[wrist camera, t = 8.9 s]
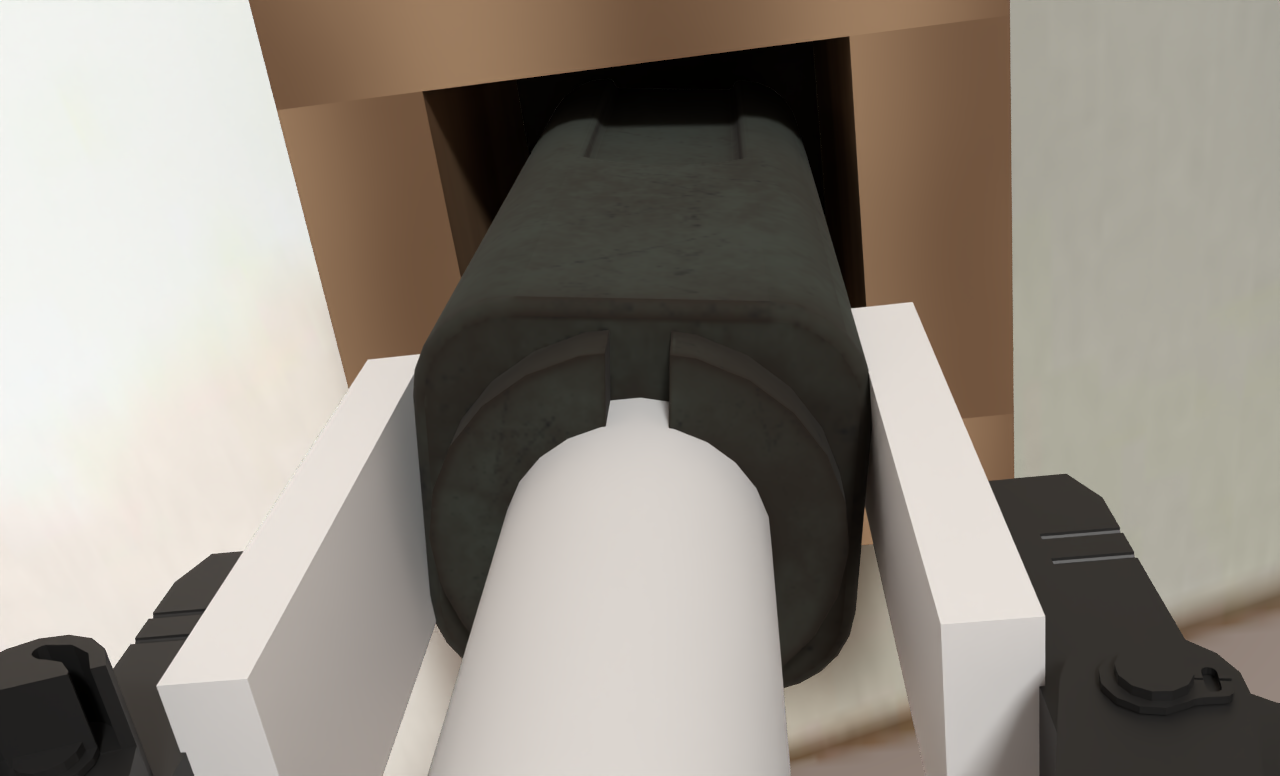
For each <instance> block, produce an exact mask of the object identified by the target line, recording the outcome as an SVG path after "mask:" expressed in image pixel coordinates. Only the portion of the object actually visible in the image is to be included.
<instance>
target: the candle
mask: <svg viewBox="0 0 1280 776" xmlns="http://www.w3.org/2000/svg"><path fill="white" fill-rule="evenodd" d="M868 371H869V369H868V366H867V362H866V359H865V355H864V352H863V348H862V345H861V342H860V338H859V335H858V331H857V328H856V324H855V321H854V318H853V314H852V311H851V305H850V302H849V298H848V295H847V291H846V288H845V285H844V281H843V278H842V274H841V271H840V268H839V264H838V261H837V257H836V254H835V250H834V247H833V244H832V240H831V237H830V233H829V230H828V226H827V223H826V220H825V216H824V213H823V209H822V206H821V203H820V199H819V196H818V192H817V189H816V185H815V182H814V179H813V175H812V172H811V168H810V165H809V161H808V158H807V155H806V151H805V148H804V144H803V141H802V138H801V134H800V131H799V127H798V124H797V121H796V119H795V116H794V113H793V111H792V109H791V108H790V106H789V105H788V103H787V102H786V101H785V99H784V98H783V97H782V96H780V95H779V94H778V93H777V92H775V91H774V90H773V89H772V88H769V87H767V86H765V85H763V84H760V83H758V82H752V81H745V80H738V81H736V82H735V83H734V86H733V87H732V88H731V89H646V88H618V87H617V86H616V85H615V83H614V81H613V80H612V79H600V80H592V81H589V82H587V83H584V84H582V85H579V86H577V87H576V88H575V89H573V90H572V91H571V92H569V93H568V94H567V95H566V96H565V97H564V98H563V99H562V101H561V102H560V103H559V105H558V106H557V108H556V109H555V111H554V113H553V114H552V116H551V118H550V120H549V122H548V123H547V125H546V127H545V129H544V131H543V132H542V134H541V136H540V138H539V140H538V141H537V143H536V145H535V147H534V149H533V150H532V152H531V154H530V156H529V157H528V159H527V161H526V163H525V165H524V166H523V168H522V170H521V172H520V174H519V175H518V177H517V179H516V181H515V183H514V184H513V186H512V188H511V190H510V191H509V193H508V195H507V197H506V199H505V200H504V202H503V204H502V206H501V208H500V209H499V211H498V213H497V215H496V217H495V218H494V220H493V222H492V224H491V225H490V227H489V229H488V231H487V233H486V234H485V236H484V238H483V240H482V242H481V243H480V245H479V247H478V249H477V251H476V252H475V254H474V256H473V258H472V259H471V261H470V263H469V265H468V267H467V268H466V270H465V272H464V274H463V276H462V277H461V279H460V281H459V283H458V285H457V286H456V288H455V290H454V292H453V294H452V295H451V297H450V299H449V301H448V302H447V304H446V306H445V308H444V310H443V311H442V313H441V315H440V317H439V319H438V320H437V322H436V324H435V326H434V328H433V329H432V331H431V333H430V335H429V336H428V338H427V340H426V342H425V344H424V345H423V348H422V351H421V353H420V356H419V359H418V362H417V364H416V367H415V370H414V387H413V400H414V412H415V424H416V436H417V447H418V459H419V471H420V482H421V494H422V506H423V518H424V529H425V541H426V553H427V564H428V576H429V587H430V597H431V602H432V606H433V610H434V614H435V618H436V624H437V626H438V628H439V629H440V631H441V633H442V635H443V637H444V638H445V640H446V642H447V643H448V644H449V645H450V646H451V647H452V648H453V649H454V650H455V651H456V652H457V653H458V654H459V655H460V656H461V657H462V663H461V666H460V669H459V673H458V676H457V679H456V683H455V686H454V689H453V693H452V696H451V699H450V703H449V706H448V709H447V713H446V716H445V719H444V723H443V726H442V729H441V733H440V736H439V739H438V743H437V746H436V749H435V753H434V756H433V759H432V763H431V766H430V769H429V773H428V776H791V771H790V759H789V747H788V735H787V723H786V711H785V699H784V688H785V687H788V686H792V685H795V684H798V683H801V682H803V681H804V680H806V679H808V678H810V677H812V676H813V675H815V674H817V673H819V672H820V671H822V670H823V669H824V668H825V667H826V666H827V665H828V664H829V663H830V662H831V661H832V660H833V659H834V658H835V657H836V656H838V654H839V652H840V651H841V649H842V647H843V646H844V644H845V642H846V641H847V639H848V637H849V635H850V631H851V627H852V623H853V619H854V615H855V611H856V600H857V589H858V577H859V566H860V555H861V544H862V533H863V521H864V510H865V499H866V488H867V476H868V465H869V454H870V443H871V432H872V412H871V396H870V381H869V372H868Z"/></svg>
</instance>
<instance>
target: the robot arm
mask: <svg viewBox="0 0 1280 776" xmlns="http://www.w3.org/2000/svg"><path fill="white" fill-rule="evenodd" d="M851 311H852V314H853V318H854V321H855V324H856V328H857V331H858V335H859V338H860V342H861V345H862V348H863V352H864V355H865V359H866V362H867V366H868V369H869V371H868V372H869V381H870V396H871V412H872V432H871V443H870V454H869V465H868V476H867V488H866V499H865V509H866V514H867V518H868V522H869V527H870V531H871V536H872V540H873V545H874V549H875V554H876V558H877V563H878V567H879V572H880V576H881V580H882V585H883V589H884V594H885V598H886V603H887V607H888V612H889V616H890V621H891V625H892V630H893V634H894V638H895V643H896V647H897V652H898V656H899V661H900V665H901V670H902V674H903V679H904V683H905V688H906V692H907V696H908V701H909V705H910V710H911V714H912V719H913V723H914V728H915V732H916V737H917V741H918V746H919V750H920V754H921V758H922V763H923V767H924V772H925V776H1280V703H1276V702H1273V701H1270V700H1267V699H1264V698H1262V697H1259V696H1256V695H1253V694H1251V693H1250V691H1249V689H1248V687H1247V685H1246V683H1245V681H1244V679H1243V677H1242V675H1241V673H1240V672H1239V671H1237V670H1236V669H1235V668H1234V667H1233V666H1231V665H1230V664H1229V663H1228V662H1227V661H1225V660H1224V659H1223V658H1222V657H1220V656H1219V655H1218V654H1217V653H1215V652H1212V651H1210V650H1208V649H1206V648H1203V647H1201V646H1199V645H1196V644H1194V643H1192V642H1189V641H1187V640H1185V639H1184V637H1183V635H1182V633H1181V632H1180V630H1179V628H1178V627H1177V625H1176V623H1175V621H1174V620H1173V618H1172V616H1171V615H1170V613H1169V611H1168V609H1167V608H1166V606H1165V604H1164V603H1163V601H1162V599H1161V597H1160V596H1159V594H1158V592H1157V591H1156V589H1155V587H1154V585H1153V584H1152V582H1151V580H1150V578H1149V577H1148V575H1147V573H1146V572H1145V570H1144V568H1143V566H1142V565H1141V563H1140V561H1139V560H1138V558H1135V557H1134V551H1133V549H1132V548H1131V546H1130V544H1129V542H1128V541H1127V539H1126V537H1125V536H1124V534H1123V533H1120V527H1119V525H1118V524H1117V522H1116V520H1115V518H1114V517H1113V515H1112V513H1111V512H1110V510H1109V508H1108V506H1107V505H1106V503H1105V501H1104V499H1103V498H1102V497H1101V496H1099V495H1098V494H1096V493H1095V492H1093V491H1092V490H1090V489H1089V488H1087V487H1086V486H1084V485H1083V484H1081V483H1080V482H1078V481H1076V480H1075V479H1073V478H1072V477H1070V476H1069V475H1067V474H1059V475H1048V476H1036V477H1025V478H1014V479H1003V480H992V481H988V479H987V477H986V475H985V472H984V470H983V468H982V465H981V463H980V460H979V458H978V456H977V453H976V451H975V449H974V446H973V444H972V441H971V439H970V437H969V434H968V432H967V430H966V427H965V425H964V423H963V420H962V418H961V415H960V413H959V411H958V408H957V406H956V404H955V401H954V399H953V396H952V394H951V392H950V389H949V387H948V385H947V382H946V380H945V377H944V375H943V373H942V370H941V368H940V366H939V363H938V361H937V359H936V356H935V354H934V351H933V349H932V347H931V344H930V342H929V340H928V337H927V335H926V332H925V330H924V328H923V325H922V323H921V321H920V318H919V316H918V314H917V311H916V309H915V306H914V304H913V302H908V303H899V304H889V305H880V306H870V307H861V308H851ZM419 356H420V354H417V355H407V356H398V357H388V358H379V359H370V360H367V362H366V363H365V365H364V366H363V368H362V369H361V371H360V372H359V374H358V376H357V377H356V379H355V380H354V382H353V383H352V385H351V386H350V388H349V389H348V391H347V393H346V394H345V396H344V397H343V399H342V400H341V402H340V403H339V405H338V406H337V408H336V409H335V411H334V413H333V414H332V416H331V417H330V419H329V420H328V422H327V423H326V425H325V426H324V428H323V430H322V431H321V433H320V434H319V436H318V437H317V439H316V440H315V442H314V443H313V445H312V446H311V448H310V450H309V451H308V453H307V454H306V456H305V457H304V459H303V460H302V462H301V463H300V465H299V467H298V468H297V470H296V471H295V473H294V474H293V476H292V477H291V479H290V480H289V482H288V484H287V485H286V487H285V488H284V490H283V491H282V493H281V494H280V496H279V497H278V499H277V500H276V502H275V504H274V505H273V507H272V508H271V510H270V511H269V513H268V514H267V516H266V517H265V519H264V521H263V522H262V524H261V525H260V527H259V528H258V530H257V531H256V533H255V534H254V536H253V538H252V539H251V541H250V542H249V544H248V545H247V547H246V548H245V550H244V551H241V552H230V553H218V554H211V555H210V556H209V557H207V558H206V559H205V560H204V561H202V562H201V563H200V564H198V565H197V566H196V567H194V568H193V569H192V570H190V571H189V572H188V573H186V574H185V575H184V576H183V577H181V578H180V579H179V580H177V581H176V582H175V583H174V584H173V586H172V587H171V588H170V590H169V591H168V593H167V594H166V595H165V597H164V598H163V600H162V601H161V602H160V604H159V605H158V607H157V608H156V609H155V611H154V612H153V619H148V621H147V622H146V624H145V625H144V626H143V628H142V629H141V631H140V632H139V633H138V635H137V636H136V638H135V640H136V642H135V644H131V645H130V646H129V647H128V649H127V650H126V652H125V653H124V654H123V656H122V657H121V659H120V660H119V661H118V663H117V664H116V666H115V667H114V668H112V666H111V663H110V661H109V658H108V655H107V653H106V650H105V648H103V647H102V646H101V645H100V644H98V643H97V642H96V641H95V640H93V639H92V638H86V637H80V636H73V635H64V636H56V637H48V638H41V639H37V640H34V641H30V642H27V643H24V644H21V645H18V646H15V647H12V648H9V649H6V650H4V651H2V652H0V776H383V773H384V770H385V767H386V765H387V762H388V759H389V756H390V753H391V750H392V747H393V744H394V742H395V739H396V736H397V733H398V730H399V727H400V724H401V721H402V719H403V716H404V713H405V710H406V707H407V704H408V701H409V698H410V695H411V693H412V690H413V687H414V684H415V681H416V678H417V675H418V672H419V670H420V667H421V664H422V661H423V658H424V655H425V652H426V649H427V647H428V644H429V641H430V638H431V635H432V632H433V629H434V626H435V624H436V618H435V614H434V610H433V606H432V602H431V597H430V587H429V576H428V564H427V553H426V541H425V529H424V518H423V506H422V494H421V482H420V471H419V459H418V447H417V436H416V424H415V412H414V400H413V387H414V370H415V367H416V364H417V362H418V359H419Z"/></svg>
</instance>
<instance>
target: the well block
mask: <svg viewBox="0 0 1280 776" xmlns="http://www.w3.org/2000/svg"><path fill="white" fill-rule="evenodd" d="M249 3H250V7H251V11H252V15H253V19H254V23H255V27H256V31H257V35H258V38H259V42H260V46H261V50H262V54H263V58H264V62H265V66H266V69H267V73H268V77H269V81H270V85H271V89H272V93H273V97H274V101H275V104H276V108H277V112H278V116H279V120H280V124H281V128H282V132H283V135H284V139H285V143H286V147H287V151H288V155H289V159H290V163H291V167H292V170H293V174H294V178H295V182H296V186H297V190H298V194H299V198H300V201H301V205H302V209H303V213H304V217H305V221H306V225H307V229H308V233H309V236H310V240H311V244H312V248H313V252H314V256H315V260H316V264H317V267H318V271H319V275H320V279H321V283H322V287H323V291H324V295H325V299H326V302H327V306H328V310H329V314H330V318H331V322H332V326H333V330H334V333H335V337H336V341H337V345H338V349H339V353H340V357H341V361H342V365H343V368H344V372H345V376H346V380H347V384H348V388H350V386H351V385H352V383H353V382H354V380H355V379H356V377H357V376H358V374H359V372H360V371H361V369H362V368H363V366H364V365H365V363H366V362H367V360H370V359H379V358H388V357H398V356H407V355H417V354H420V353H421V351H422V348H423V345H424V344H425V342H426V340H427V338H428V336H429V335H430V333H431V331H432V329H433V328H434V326H435V324H436V322H437V320H438V319H439V317H440V315H441V313H442V311H443V310H444V308H445V306H446V304H447V302H448V301H449V299H450V297H451V295H452V294H453V292H454V290H455V288H456V286H457V285H458V283H459V281H460V279H461V277H462V276H463V274H464V272H465V270H466V268H467V267H468V265H469V263H470V261H471V259H472V258H473V256H474V254H475V252H476V251H477V249H478V247H479V245H480V243H481V242H482V240H483V238H484V236H485V234H486V233H487V231H488V229H489V227H490V225H491V224H492V222H493V220H494V218H495V217H496V215H497V213H498V211H499V209H500V208H501V206H502V204H503V202H504V200H505V199H506V197H507V195H508V193H509V191H510V190H511V188H512V186H513V184H514V183H515V181H516V179H517V177H518V175H519V174H520V172H521V170H522V168H523V166H524V165H525V163H526V161H527V159H528V157H529V156H530V155H529V149H528V144H527V138H526V132H525V126H524V121H523V115H522V109H521V104H520V98H519V92H518V86H517V81H516V79H522V78H530V77H537V76H545V75H553V74H560V73H568V72H576V71H584V70H591V69H599V68H607V67H614V66H622V65H630V64H638V63H645V62H653V61H661V60H669V59H676V58H684V57H692V56H699V55H707V54H715V53H723V52H730V51H738V50H746V49H754V48H761V47H769V46H777V45H784V44H792V43H800V42H808V41H813V52H814V65H815V78H816V92H817V105H818V119H819V132H820V145H821V159H822V172H823V186H824V199H825V212H826V223H827V226H828V230H829V233H830V237H831V240H832V244H833V247H834V250H835V254H836V257H837V261H838V264H839V268H840V271H841V274H842V278H843V281H844V285H845V288H846V291H847V295H848V298H849V302H850V305H851V308H861V307H870V306H880V305H889V304H899V303H908V302H913V304H914V306H915V309H916V311H917V314H918V316H919V318H920V321H921V323H922V325H923V328H924V330H925V332H926V335H927V337H928V340H929V342H930V344H931V347H932V349H933V351H934V354H935V356H936V359H937V361H938V363H939V366H940V368H941V370H942V373H943V375H944V377H945V380H946V382H947V385H948V387H949V389H950V392H951V394H952V396H953V399H954V401H955V404H956V406H957V408H958V411H959V413H960V415H961V418H962V420H963V423H964V425H965V427H966V430H967V432H968V434H969V437H970V439H971V441H972V444H973V446H974V449H975V451H976V453H977V456H978V458H979V460H980V463H981V465H982V468H983V470H984V472H985V475H986V477H987V479H988V481H992V480H1003V479H1014V404H1013V298H1012V192H1011V86H1010V0H249ZM869 544H873V540H872V536H871V531H870V527H869V522H868V518H867V514H866V509H865V510H864V521H863V533H862V544H861V545H869Z"/></svg>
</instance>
